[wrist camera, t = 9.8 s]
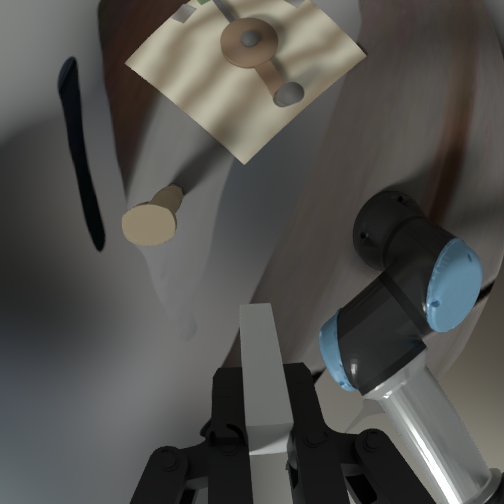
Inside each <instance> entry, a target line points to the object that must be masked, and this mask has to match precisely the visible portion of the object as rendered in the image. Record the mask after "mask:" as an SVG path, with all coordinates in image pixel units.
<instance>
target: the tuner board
mask: <svg viewBox="0 0 504 504" xmlns="http://www.w3.org/2000/svg"><path fill="white" fill-rule="evenodd" d="M221 1H222V3H223V4H224V5H225V7H226V8H227V9H228V10H229V12H230V13H231V14H232V16H233V17H234V18H235V20H237V19H241V18H249V17H250V18H257V19H261V20H263V21H265V22H267V23H268V24H270V25H271V26H272V27H273V28H274V30H275V31H276V33H277V36H278V48H277V50H276V52H275V53H274V55H273V57H272V58H271V62H272V64H273V65H274V67H275V68H276V70H277V72H278V73H279V75H280V76H281V78H282V80H283V81H284V83H285V84H286V83H288V82H296V83H298V84H300V85H301V86H302V87H303V89H304V98H303V99H302V100H301V101H300V102H298V103H295V104H292V105H290V106H287V107H278V106H277V105H275V103H274V102H273V98H272V96H271V94H270V93H269V91H268V89H267V88H266V86H265V84H264V83H263V81H262V80H261V78H260V76H259V75H258V73H257V72H256V70H255V68H252V69H245V68H240V67H237V66H234V65H233V64H231V63H230V62H228V61H227V60H226V58H225V57H224V55H223V53H222V50H221V44H220V37H221V34H222V32H223V30H224V29H225V27H226V26H227V25H228V24H230V23H229V22H228V20H227V19H226V18H225V16H224V15H223V14H222V12H221V11H220V10H219V8H218V7H217V6H216V4H215V3H214V2H213V1H212V0H191V1H189V2H188V3H187V4H186V5H185V4H183V5H182V6H181V7H180V8H179V9H178V10H177V12H176V13H175V14H174V15H173V16H171V17H170V18H169V19H168V20H167V21H166V22H165V23H164V24H163V25H161V26H160V27H159V28H158V29H157V30H156V31H155V32H154V33H153V34H152V35H151V36H150V37H149V38H148V39H147V40H146V41H145V42H144V43H143V44H142V45H141V46H140V47H139V48H138V49H137V50H136V51H135V53H134V54H133V55H132V56H131V57H130V58H129V59H128V60H127V61H126V63H125V64H126V65H127V66H129V67H130V68H131V69H133V70H134V71H135V72H137V73H138V74H139V75H140V76H142V77H143V78H144V79H146V80H147V81H148V82H149V83H151V84H152V85H153V86H154V87H156V88H157V89H158V90H159V91H161V92H162V93H163V94H164V95H165V96H167V97H168V98H169V99H170V100H171V101H173V102H174V103H175V104H176V105H177V106H179V107H180V108H181V109H182V110H183V111H185V112H186V113H187V114H188V115H189V116H190V117H192V118H193V119H194V120H195V121H196V122H197V123H199V124H200V125H201V126H202V127H203V128H204V129H205V130H207V131H208V132H209V133H210V134H211V135H212V136H213V137H214V138H216V139H217V140H218V141H219V142H220V143H221V144H222V145H223V146H224V147H225V148H227V149H228V150H229V151H230V152H231V153H232V154H233V155H234V156H235V157H236V158H238V159H239V160H240V161H241V162H242V163H243V164H246V163H247V162H248V161H249V160H250V159H251V158H252V157H253V156H254V155H255V154H256V153H257V152H258V151H259V150H260V149H261V148H262V147H263V146H264V145H265V144H266V143H267V142H268V141H269V140H270V139H271V138H272V137H274V136H275V135H276V134H277V133H278V132H279V131H280V130H281V129H282V128H283V127H284V126H285V125H286V124H288V122H290V121H291V120H292V119H293V118H294V117H295V116H296V115H297V114H299V112H301V111H302V110H303V109H304V108H305V107H306V106H307V105H308V104H310V103H311V102H312V101H313V100H314V99H315V98H316V97H318V96H319V95H320V94H321V93H322V92H323V91H325V90H326V89H327V88H328V87H329V86H331V85H332V84H333V83H334V82H335V81H337V80H338V79H339V78H340V77H341V76H343V75H344V74H345V73H346V72H348V71H349V70H350V69H351V68H353V67H354V66H355V65H356V64H358V63H359V62H360V61H361V60H363V59H364V58H365V57H366V54H365V53H364V52H363V51H362V50H361V49H360V48H359V47H358V46H357V44H356V43H355V42H354V41H353V40H352V39H351V38H350V37H349V36H348V35H347V34H346V33H345V32H344V31H343V30H342V29H341V28H340V27H339V26H338V25H337V24H336V23H335V22H334V21H333V20H332V19H331V18H330V17H329V16H327V15H326V14H325V13H324V12H323V11H322V10H321V9H320V8H318V7H317V6H316V5H315V4H314V3H313V2H312V1H310V0H221Z"/></svg>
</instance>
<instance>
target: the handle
mask: <svg viewBox="0 0 504 504" xmlns="http://www.w3.org/2000/svg"><path fill="white" fill-rule="evenodd" d="M182 199H183V194H182V188H181V187H177V186H176V185H175V184H171V185H169V186H167V187H165V188H163V189H161V190H160V191H159V192H158V193H157V194H156V195H155V196H154V197H153V199H152V200H151V201H150V202H144V203H140V204H138V205H136V206H135V207H133V208H132V209H130V210H129V211H128V212H126V213H125V214H124V215H123V219H122V228H123V232H124V234H125V236H126V238H127V239H128V240H129V241H130V242H133V243H135V244H138V245H142V246H153V245H159V244H162V243H164V242H166V241H167V240H169V239H170V238H172V237H173V236H174V234H175V231H176V228H177V219H176V215H175V213H176V212H177V210H178V209H179V207H180V205H181V202H182Z"/></svg>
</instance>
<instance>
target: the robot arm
mask: <svg viewBox="0 0 504 504" xmlns="http://www.w3.org/2000/svg"><path fill="white" fill-rule="evenodd" d="M353 243H354V246H355V249H356V251H357V253H358V255H359V256H360V257H361V258H362V259H363V261H364V262H365V263H366V264H368V265H369V266H371V267H372V268H375V269H377V270H380V271H383V272H382V273H381V274H380V275H379V276H378V277H377V278H376V279H375V280H374V281H372V282H371V283H370V284H369V285H368V286H367V287H366V288H365V289H364V290H362V291H361V292H360V293H359V294H358V295H357V296H356V297H355V298H353V299H352V300H351V301H350V302H349V303H348V304H346V305H345V306H344V307H343V308H340V309H339V310H338V311H337V312H336V314H335V315H334V316H333V317H331V318H330V319H329V320H328V321H327V322H326V323H325V324H324V325H323V326H322V328H321V330H320V335H319V345H320V350H321V353H322V356H323V359H324V362H325V364H326V366H327V368H328V370H329V372H330V374H331V375H332V377H333V378H334V380H335V381H336V382H339V384H340V386H341V387H342V388H343V389H345V390H347V391H355V390H357V389H358V390H359V391H360V393H361V395H362V396H363V397H364V398H368V399H375V400H377V401H379V403H380V404H381V406H382V407H383V409H384V411H385V412H386V414H387V415H388V417H389V418H390V420H391V422H392V423H393V425H394V426H395V428H396V429H397V431H398V433H399V434H400V436H401V437H402V439H403V441H404V442H405V444H406V445H407V447H408V449H409V450H410V452H411V453H412V455H413V457H414V458H415V460H416V462H417V463H418V465H419V466H420V468H421V470H422V471H423V473H424V475H425V476H426V478H427V480H428V481H429V483H430V485H431V486H432V488H433V490H434V491H435V493H436V495H437V497H438V498H439V500H440V502H441V504H504V472H503V473H502V474H501V471H500V470H499V469H497V468H489V469H488V468H487V466H486V464H485V462H484V460H483V458H482V456H481V454H480V452H479V450H478V448H477V446H476V445H475V443H474V441H473V439H472V437H471V436H470V434H469V432H468V430H467V428H466V427H465V425H464V423H463V422H462V420H461V418H460V417H459V415H458V413H457V412H456V410H455V408H454V407H453V405H452V403H451V402H450V400H449V399H448V397H447V395H446V394H445V392H444V391H443V389H442V388H441V386H440V385H439V383H438V381H437V380H436V378H435V377H434V375H433V374H432V372H431V371H430V369H429V368H428V367H427V364H426V358H427V352H428V348H427V346H426V345H425V344H424V342H423V341H422V338H423V337H424V336H425V335H426V334H427V333H428V332H429V331H430V330H432V329H433V330H436V331H438V332H446V331H449V329H450V328H451V329H452V328H454V327H456V326H457V325H458V324H459V323H460V322H462V320H463V319H464V318H465V317H466V316H467V315H468V313H469V312H470V310H471V309H472V307H473V305H474V303H475V301H476V299H477V297H478V294H479V291H480V287H481V284H482V277H483V270H482V264H481V261H480V258H479V256H478V255H477V254H476V252H475V251H473V250H472V249H471V248H470V247H469V246H467V245H466V243H465V242H464V241H463V240H462V239H460V238H457V237H456V236H454V235H453V234H451V233H450V232H448V231H446V230H445V229H443V228H442V227H440V226H439V225H437V224H435V223H434V222H432V221H430V220H429V219H427V217H426V216H425V214H424V213H423V211H422V210H421V208H420V207H419V205H418V204H417V203H416V202H415V201H414V200H413V199H412V198H410V197H409V196H407V195H405V194H403V193H400V192H397V191H387V192H383V193H380V194H378V195H376V196H374V197H373V198H371V199H370V200H369V201H368V202H367V203H366V204H365V205H364V206H363V208H362V209H361V210H360V212H359V214H358V216H357V218H356V221H355V224H354V228H353ZM239 307H240V332H241V354H242V367H236V368H218V369H217V371H216V373H215V375H214V376H213V390H212V415H211V426H210V428H209V429H208V430H207V432H206V436H205V438H206V440H205V441H204V442H202V443H201V444H198V445H196V446H192V447H188V448H184V449H178V448H176V447H172V446H165V447H160V448H158V449H156V450H155V451H154V452H153V453H152V455H151V456H150V458H149V460H148V463H147V465H146V467H145V470H144V472H143V474H142V476H141V479H140V481H139V483H138V486H137V488H136V490H135V492H134V495H133V497H132V499H131V502H130V504H195V501H196V498H197V495H198V492H199V489H202V488H206V487H208V504H253V494H252V482H251V470H250V457H249V455H255V454H269V453H279V452H286V450H287V453H288V461H287V464H286V470H288V473H289V479H290V485H291V492H292V499H293V504H350V501H349V496H348V492H347V490H348V491H349V493H350V495H351V496H352V498H353V500H354V502H355V503H356V504H436V502H435V501H434V500H433V498H432V497H431V495H430V494H429V493H428V491H427V490H426V488H425V487H424V486H423V485H422V483H421V482H420V480H419V479H418V477H417V476H416V475H415V474H414V472H413V470H412V469H411V468H410V466H409V465H408V464H407V462H406V461H405V459H404V458H403V457H402V455H401V454H400V452H399V451H398V450H397V448H396V447H395V445H394V444H393V443H392V441H391V440H390V439H389V437H388V436H387V435H386V434H385V433H384V432H383V431H381V430H379V429H367V430H364V431H362V432H361V433H360V434H347V433H339V432H336V431H334V430H332V429H331V428H329V427H328V426H327V425H326V423H325V422H324V419H323V416H322V412H321V408H320V404H319V401H318V397H317V394H316V391H315V386H314V383H313V379H312V376H311V372H310V370H309V369H308V368H307V367H306V365H305V364H304V363H303V362H301V363H291V364H282V359H281V354H280V349H279V344H278V339H277V334H276V329H275V324H274V319H273V314H272V309H271V304H270V303H265V304H241V305H239Z"/></svg>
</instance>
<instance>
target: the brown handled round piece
mask: <svg viewBox="0 0 504 504" xmlns="http://www.w3.org/2000/svg"><path fill="white" fill-rule="evenodd" d="M212 1H213V2H214V3H215V4H216V6H217V7H218V8H219V10H220V11H221V12H222V14H223V15H224V16H225V18H226V19H227V20H228V22H229V23H230V24H228V25H227V26H226V27H225V29H224V30H223V32H222V34H221V37H220V44H221V50H222V53H223V55H224V57H225V58H226V60H227V61H228V62H230V63H231V64H233V65H234V66H237V67H240V68H245V69H252V68H255V70H256V72H257V73H258V75H259V76H260V78H261V80H262V81H263V83H264V84H265V86H266V88H267V89H268V91H269V93H270V94H271V96H272V98H273V102H274V103H275V105H277V106H278V107H287V106H290V105H292V104H295V103H298V102H300V101H301V100H302V99H303V98H304V89H303V87H302V86H301V85H300V84H298V83H296V82H288V83H286V84H285V83H284V81H283V80H282V78H281V76H280V75H279V73H278V72H277V70H276V68H275V67H274V65H273V64H272V62H271V58H272V57H273V55H274V53H275V52H276V50H277V48H278V36H277V33H276V31H275V30H274V28H273V27H272V26H271V25H270V24H268V23H267V22H265V21H263V20H261V19H257V18H250V17H249V18H241V19H237V20H235V18H234V17H233V16H232V14H231V13H230V12H229V10H228V9H227V8H226V7H225V5H224V4H223V3H222V1H221V0H212Z"/></svg>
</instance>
